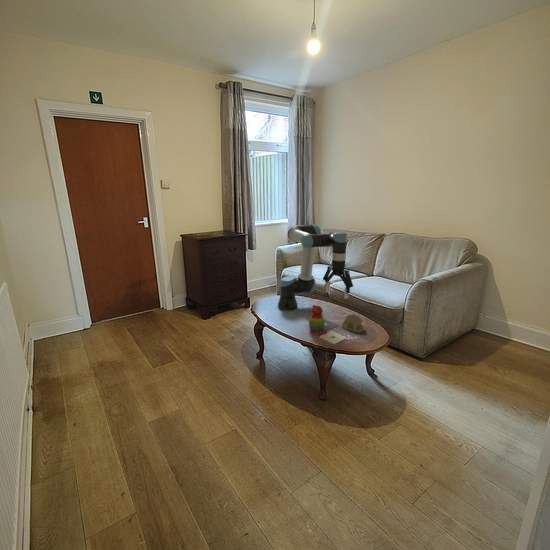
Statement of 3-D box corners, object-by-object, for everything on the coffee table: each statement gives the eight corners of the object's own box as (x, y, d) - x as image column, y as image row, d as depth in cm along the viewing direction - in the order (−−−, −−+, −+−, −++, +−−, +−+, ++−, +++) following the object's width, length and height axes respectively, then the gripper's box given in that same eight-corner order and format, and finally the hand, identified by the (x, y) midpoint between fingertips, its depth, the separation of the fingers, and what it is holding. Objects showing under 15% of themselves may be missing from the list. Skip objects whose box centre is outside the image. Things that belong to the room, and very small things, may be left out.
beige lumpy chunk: (365, 327, 208) (366, 313, 205) (361, 333, 198) (362, 319, 195) (344, 322, 214) (345, 309, 211) (339, 329, 205) (340, 315, 202)
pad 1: (313, 324, 211) (313, 323, 211) (324, 319, 219) (324, 319, 219) (326, 330, 203) (326, 329, 202) (338, 325, 210) (338, 324, 210)
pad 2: (319, 337, 194) (319, 336, 194) (331, 331, 201) (331, 330, 201) (334, 344, 185) (334, 343, 185) (346, 338, 192) (346, 337, 192)
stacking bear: (328, 332, 198) (328, 306, 194) (315, 336, 194) (315, 310, 189) (318, 327, 208) (318, 301, 203) (305, 330, 203) (305, 304, 198)
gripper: (317, 257, 184) (316, 291, 190) (352, 265, 166) (350, 302, 172) (326, 255, 189) (324, 288, 195) (361, 262, 171) (358, 299, 177)
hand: (336, 295), depth 183 cm, fingers open, 13 cm apart
